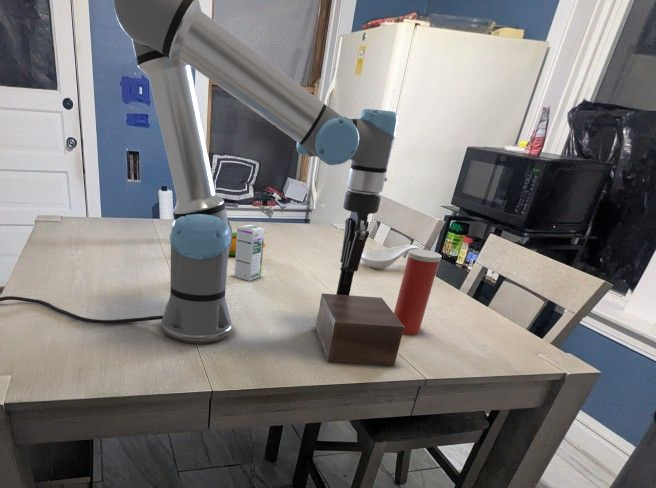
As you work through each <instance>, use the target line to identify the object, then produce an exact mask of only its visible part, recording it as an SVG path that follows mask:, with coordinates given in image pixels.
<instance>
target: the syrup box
mask: <svg viewBox="0 0 656 488" xmlns="http://www.w3.org/2000/svg"><path fill="white" fill-rule="evenodd" d="M265 231H266V228H265V227H264V226H260V225H257V224H251V223H250V224H246V225H243V226H237V227H236V233H237V235H236V236H237V241H236V256H235V261H234V274H233V275H234V278H235V277H236V278H238V279H241V280H244V281H248V282H251V281H252V280H255V279H258V278H261V277H262V263H263V255H264V254H263V253H264V248H263V243H265V241H264V240H265Z"/></svg>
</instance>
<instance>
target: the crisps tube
mask: <svg viewBox="0 0 656 488" xmlns="http://www.w3.org/2000/svg"><path fill="white" fill-rule="evenodd" d="M441 259H442V254H440V253H439V252H436V251H432V250H427V249H422V248H419V249H412V250H409V251H407V259H406V262H405V263H406V264H405V268H404V272H403V276H402V280H401V284H400V286H399V288H400V289H399V291H398V295H397V299H396V303H395V307H394V311H393V313H394V314H395V316H396V317H397V318H398V319H399V321H400V322H401V323H402V325H403V326H404V330H403V334H402V335H407V336H409V335H410V336H412V335H413V336H414V335H418V334H419V333H420V330H421V327H422V323H423V319H424V317H425V312H426V309H427V306H428V302H429V298H430V295H431V291H432V287H433V285H434V281H435V277H436V274H437V271H438V266H439V264H440V261H441Z"/></svg>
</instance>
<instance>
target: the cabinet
mask: <svg viewBox="0 0 656 488" xmlns="http://www.w3.org/2000/svg"><path fill="white" fill-rule="evenodd" d="M403 330H404V326H403V325H402V323H401V322H400V321H399V319H398V318H397V317H396V316H395V314H394V311H393V310H392V309H391V308H390V307H389V305H388V303H387V302H386V301H385V300H384V299H383V298H382V297H378V296H376V297H375V296H365V295H363V296H362V295H351V294H349V295H337V294H336V293H335V294H333V293H324V292H323V293H322V292H321V296H320V300H319V307H318V313H317V320H316V325H315V331H316V333H317V336H318V339H319V341H320V344H321V347H322V350H323V352H324V356H325V358H326V361H327V362H328V363H329V362H330V363H345V364H358V365H373V366H374V365H376V366H388V367H389V366H391V367H394V366H395V365H396V360H397V356H398V352H399V350H400V349H399V348H400V345H401V342H402V338H403V335H404V334H403Z"/></svg>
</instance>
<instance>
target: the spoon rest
mask: <svg viewBox="0 0 656 488" xmlns="http://www.w3.org/2000/svg"><path fill="white" fill-rule="evenodd" d="M412 249H420V247H418V246H416V245H412V244H403V245H397V246H393V247H388V248H382V249H372V250H371V249H370V250H365V251H363V253H362V256H361V260H360V261H362V262H363V264H365V265H366V266H367V267H369V268H372V269H376V270H384V269H387V268H388V267H390V266H392V265H393V264H394V263H395V262H396V261H397V260H399V259H400V258H401V257H402V256H403V255H404V254H406V253H408V252H409V250H412Z"/></svg>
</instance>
